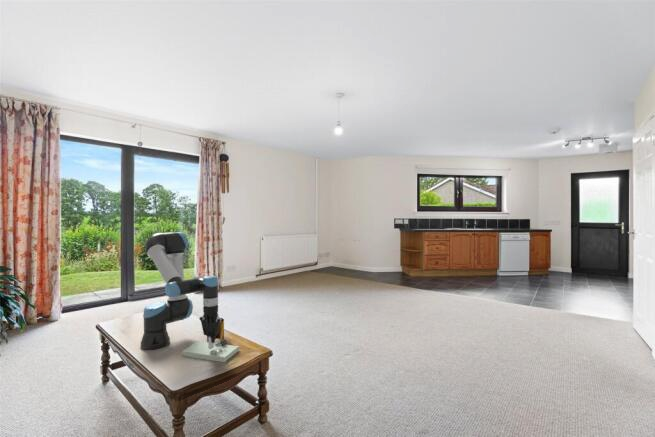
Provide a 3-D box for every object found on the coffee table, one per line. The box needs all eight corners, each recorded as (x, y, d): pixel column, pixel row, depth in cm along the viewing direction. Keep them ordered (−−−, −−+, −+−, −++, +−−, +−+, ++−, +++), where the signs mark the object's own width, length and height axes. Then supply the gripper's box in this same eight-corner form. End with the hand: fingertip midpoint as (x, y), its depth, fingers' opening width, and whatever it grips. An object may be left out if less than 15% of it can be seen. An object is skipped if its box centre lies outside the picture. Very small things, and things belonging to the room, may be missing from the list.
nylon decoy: (214, 338, 183) (219, 340, 182) (217, 337, 186) (222, 339, 186) (212, 343, 183) (217, 345, 182) (215, 342, 186) (220, 344, 185)
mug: (214, 347, 186) (213, 326, 186) (204, 339, 197) (204, 320, 196) (230, 342, 193) (229, 322, 192) (219, 335, 203) (219, 316, 203)
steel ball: (216, 350, 173) (220, 355, 173) (220, 348, 176) (223, 352, 176) (212, 354, 174) (216, 358, 173) (216, 351, 177) (220, 356, 176)
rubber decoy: (218, 344, 182) (220, 339, 182) (221, 343, 185) (223, 337, 185) (223, 347, 181) (225, 341, 181) (226, 345, 184) (228, 340, 184)
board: (182, 355, 175) (181, 351, 175) (198, 345, 189) (198, 340, 189) (224, 362, 168) (224, 357, 168) (238, 350, 182) (238, 346, 182)
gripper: (195, 305, 173) (196, 349, 174) (217, 307, 170) (217, 352, 171) (204, 302, 181) (205, 344, 181) (225, 303, 177) (225, 346, 178)
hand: (211, 348), depth 176 cm, fingers closed
